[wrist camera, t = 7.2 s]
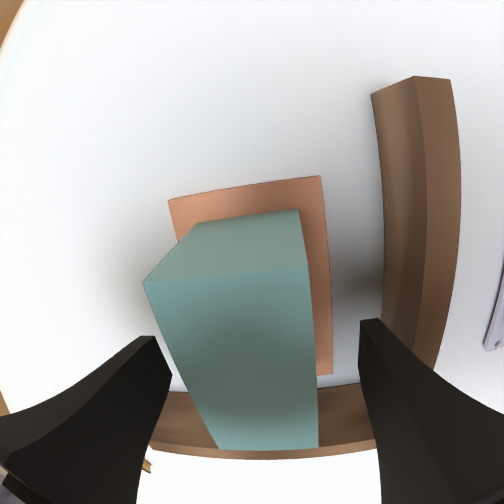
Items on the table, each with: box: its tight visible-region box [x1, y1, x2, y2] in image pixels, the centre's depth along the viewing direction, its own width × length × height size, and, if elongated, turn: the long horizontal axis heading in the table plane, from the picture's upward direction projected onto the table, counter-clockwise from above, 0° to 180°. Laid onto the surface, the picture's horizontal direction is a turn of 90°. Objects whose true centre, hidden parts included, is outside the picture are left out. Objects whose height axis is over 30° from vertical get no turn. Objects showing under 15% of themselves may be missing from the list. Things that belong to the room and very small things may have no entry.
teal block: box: [142, 208, 319, 451], centre depth 10 cm, size 8×4×5 cm, turn 10°
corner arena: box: [149, 76, 461, 460], centre depth 11 cm, size 14×16×4 cm
